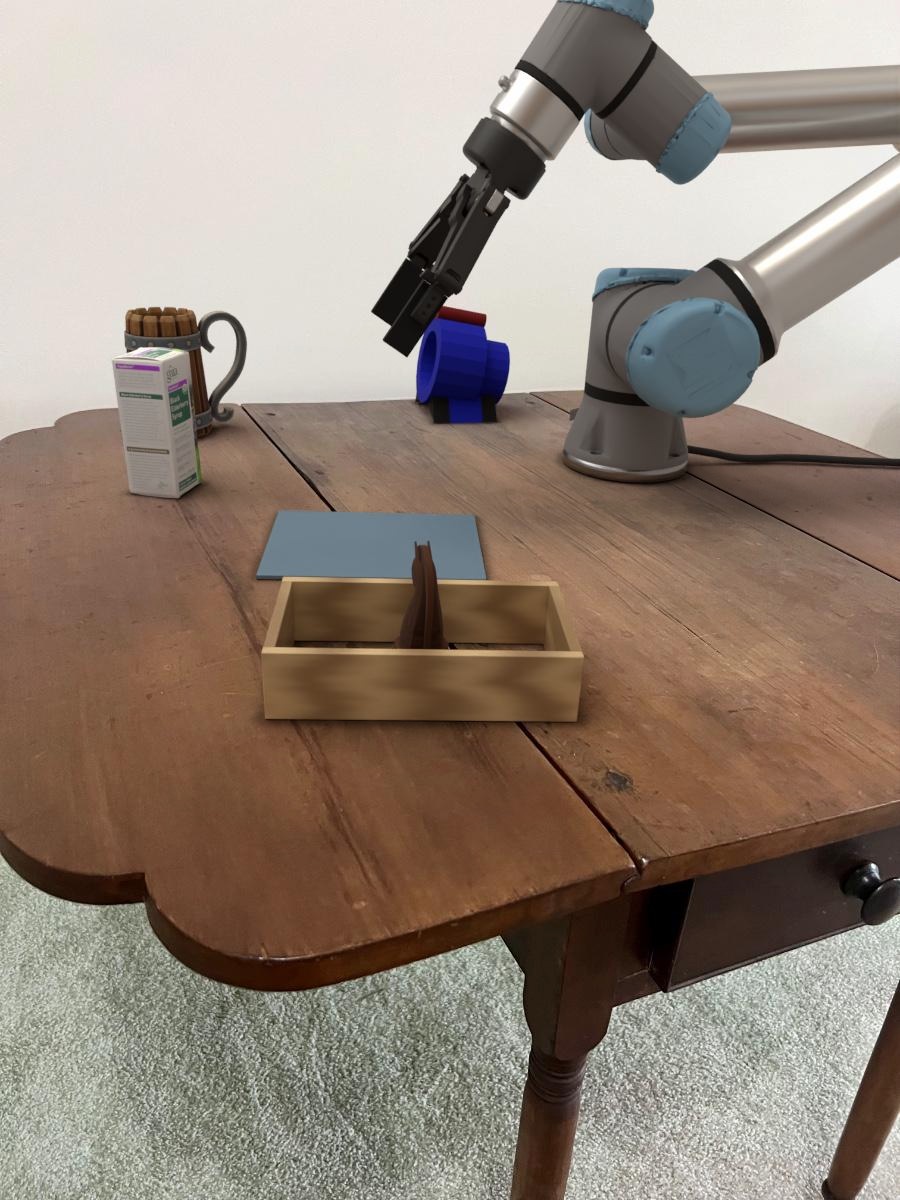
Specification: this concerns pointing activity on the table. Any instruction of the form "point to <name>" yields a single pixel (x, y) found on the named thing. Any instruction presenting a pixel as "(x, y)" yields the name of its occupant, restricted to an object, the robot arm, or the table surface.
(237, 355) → the mug
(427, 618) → the chess piece
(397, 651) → the pine box
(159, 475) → the syrup box
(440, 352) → the alarm clock
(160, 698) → the table surface
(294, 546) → the mat
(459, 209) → the robot arm
